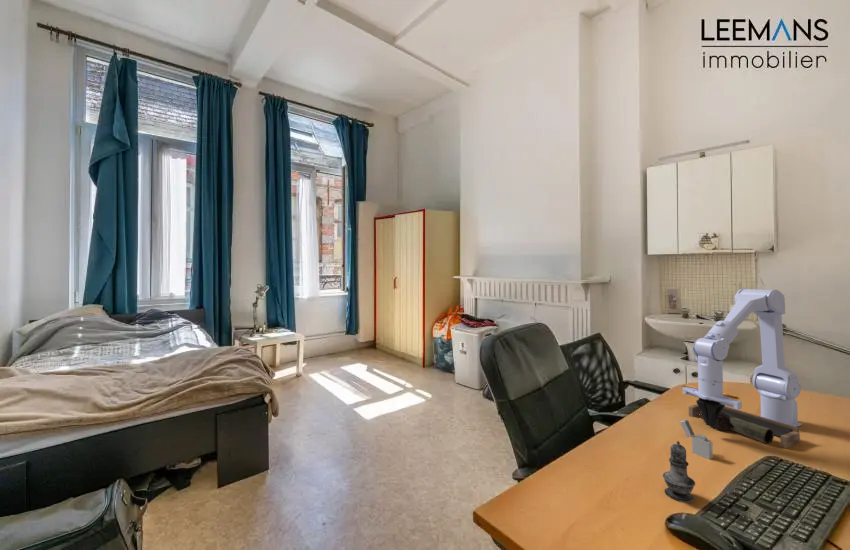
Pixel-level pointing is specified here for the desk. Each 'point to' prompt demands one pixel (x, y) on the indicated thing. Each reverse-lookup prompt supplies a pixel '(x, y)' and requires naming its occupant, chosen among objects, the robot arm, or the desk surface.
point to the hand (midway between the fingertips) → (710, 425)
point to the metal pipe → (742, 427)
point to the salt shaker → (678, 476)
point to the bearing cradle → (761, 424)
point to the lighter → (698, 441)
